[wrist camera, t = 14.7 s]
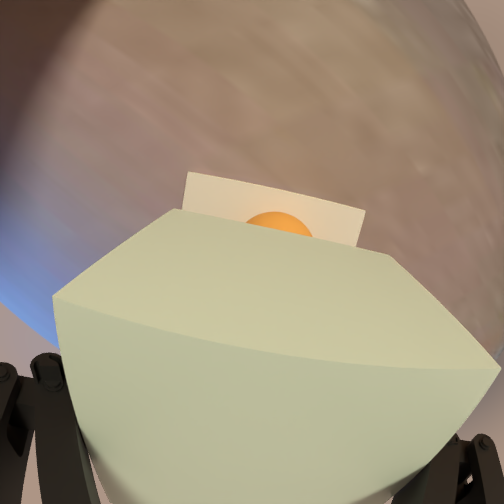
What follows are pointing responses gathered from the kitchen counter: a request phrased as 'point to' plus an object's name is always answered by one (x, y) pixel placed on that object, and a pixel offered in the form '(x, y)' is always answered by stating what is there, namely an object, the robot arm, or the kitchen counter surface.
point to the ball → (280, 222)
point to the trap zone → (271, 206)
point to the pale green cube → (260, 367)
